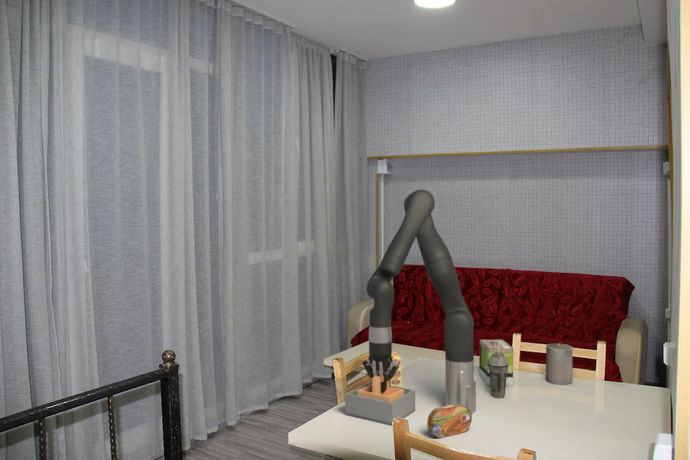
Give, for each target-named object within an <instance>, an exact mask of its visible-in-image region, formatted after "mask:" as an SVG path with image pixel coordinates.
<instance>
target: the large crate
mask: <svg viewBox="0 0 690 460" xmlns="http://www.w3.org/2000/svg"><path fill="white" fill-rule="evenodd" d="M372 383H373V381H368V382H365V384H362V385H360V386H358V387H356V388H354V389H352V390H350V391H348V392H346V393H345V394H344V412H345V413H344V415H345V416H349V417H353V418H357V419H361V420H366V421H370V422H375V423H379V424H382V425H387V426H392V422H393V419H394V418H397V417H399V418H404V419H406V418H407V417H408V416H410V415H411V414H413V413H414V412H416V389H412V388H411V389H410V388H407V387H402V386H401V387H396V386H391V385H389V387H392V388H397V389H403V390H404V395H403V396H402V397H400V398H398V399H396V400H395V401H393V402H387V401H382V400H378V399H373V398H368V397H363V396H358V395H357V390H359V389H362V388H364V387H367V386H369V385H371V384H372ZM392 427H393V426H392Z"/></svg>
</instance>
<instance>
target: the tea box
mask: <svg viewBox="0 0 690 460" xmlns="http://www.w3.org/2000/svg"><path fill="white" fill-rule="evenodd" d="M498 340H499V353H501V354H503V355H504V356H505V357H506V358H507V360H508V365H509V366H508V371H507V379H506V387H513V386H514V347H513V346H511V345H510V344H509V343H508V342H506V341H505V340H504V339H479V353H478V354H479V356H478V357H479V358H478V359H479V361H478V362H479V365H478V367H479V368H478V369H479V371H478V372H479V373H478V375H479V376H480V377H481V379H482V380H483V381H484V383H485V384H486V385H487V386H490V387H491V384H490V372H489V367H488V360H489V358H490V356H491V355H492V354H494V353H498Z"/></svg>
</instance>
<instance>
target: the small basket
mask: <svg viewBox="0 0 690 460" xmlns="http://www.w3.org/2000/svg"><path fill="white" fill-rule="evenodd" d="M387 375H388V373H387ZM372 382H373V383H372V384H371V385H369V386H367V387H364V388H362V389H359V390H357V395H358V396H363V397H368V398H373V399H378V400H382V401H387V402H393V401H395V400H396V399H398V398H400V397H402V396H403V395H404V390H403V389H397V388H392V387H389V381H387V390H386V391H385V392H384V393H381V387H380V382H381V375H379V376H376V377H374V378H372Z"/></svg>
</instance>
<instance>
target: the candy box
mask: <svg viewBox="0 0 690 460" xmlns="http://www.w3.org/2000/svg"><path fill="white" fill-rule="evenodd" d="M391 357H392V360H393V363H394V364H395V365H399V368H398V370H397V371H396V373H395V375H394V376H393V378H392V379H391V380H389V385H391V386H396V387H402V358H401V356H400V355H399V354H398V352H396V351H392V354H391ZM390 367H391V366H390ZM390 367H389V368H388V373H389V372H390Z"/></svg>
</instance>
